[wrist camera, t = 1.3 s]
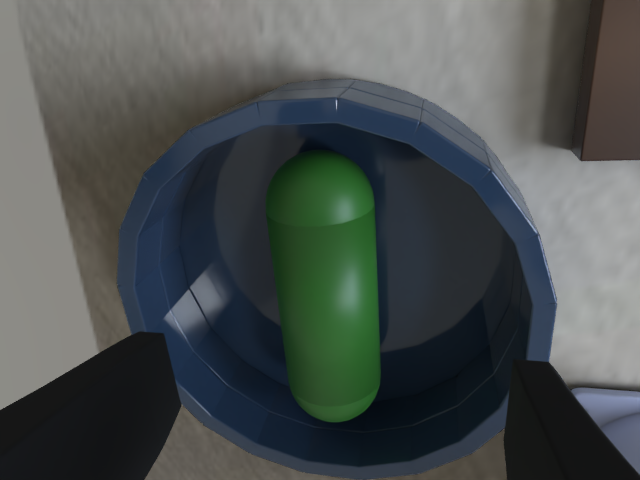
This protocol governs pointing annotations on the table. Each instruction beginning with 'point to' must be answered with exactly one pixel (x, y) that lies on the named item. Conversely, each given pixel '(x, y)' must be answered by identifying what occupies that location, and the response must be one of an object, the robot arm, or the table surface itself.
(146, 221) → the bowl
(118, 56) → the table surface
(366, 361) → the cucumber
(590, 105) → the plate
